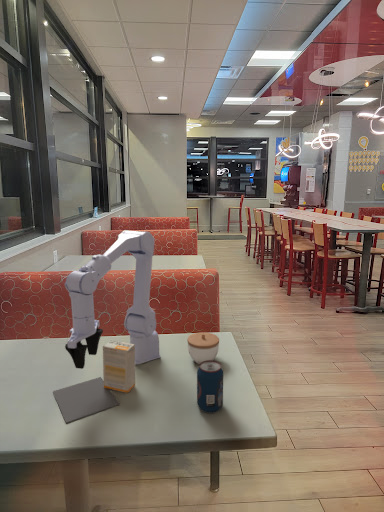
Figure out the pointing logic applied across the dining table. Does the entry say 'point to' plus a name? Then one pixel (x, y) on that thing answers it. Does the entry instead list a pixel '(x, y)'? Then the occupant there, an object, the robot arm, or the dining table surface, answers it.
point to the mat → (84, 399)
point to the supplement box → (119, 366)
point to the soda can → (210, 386)
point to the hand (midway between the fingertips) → (86, 360)
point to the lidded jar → (203, 346)
